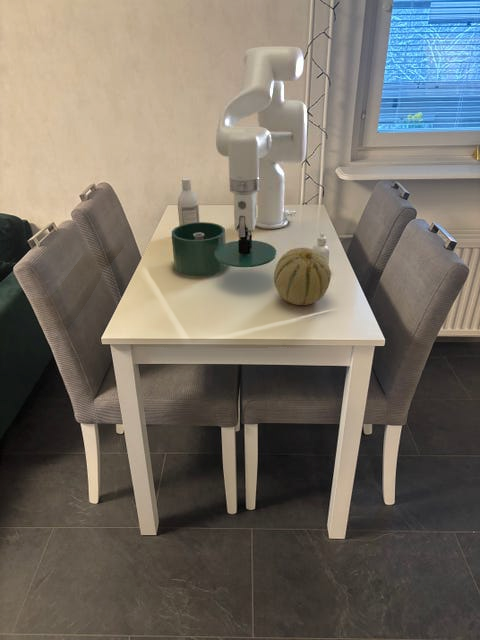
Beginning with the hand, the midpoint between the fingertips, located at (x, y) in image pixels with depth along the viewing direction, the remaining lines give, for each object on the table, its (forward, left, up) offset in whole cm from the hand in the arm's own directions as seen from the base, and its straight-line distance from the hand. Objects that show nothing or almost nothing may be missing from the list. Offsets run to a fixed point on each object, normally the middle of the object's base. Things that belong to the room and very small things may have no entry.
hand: (245, 250), depth 137 cm
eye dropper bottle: (-23, +2, -10) cm, 25 cm away
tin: (+8, -16, -10) cm, 20 cm away
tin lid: (0, 0, -1) cm, 1 cm away
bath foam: (+3, -42, -10) cm, 43 cm away
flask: (+8, -16, -10) cm, 20 cm away
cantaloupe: (-9, +16, -10) cm, 21 cm away
